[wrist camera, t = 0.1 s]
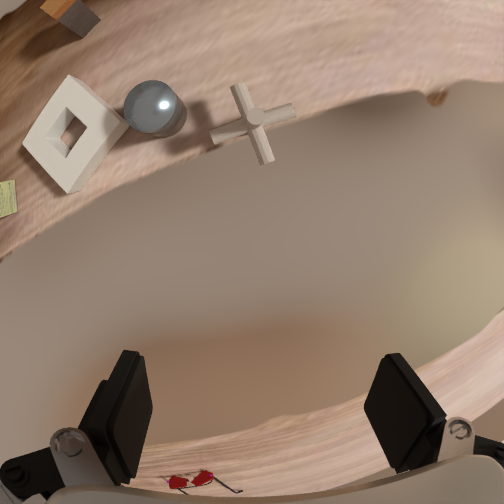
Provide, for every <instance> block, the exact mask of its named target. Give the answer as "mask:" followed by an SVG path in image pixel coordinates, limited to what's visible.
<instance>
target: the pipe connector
mask: <svg viewBox="0 0 504 504" xmlns="http://www.w3.org/2000/svg"><path fill="white" fill-rule="evenodd" d="M230 89H231V91H232V94H233V96H234V99H235V101H236V104H237V106H238V109H239V111H240V114H241V116H242V119H240V120H237V121H234V122H231V123H228V124H226V125H223V126H220V127H218V128H215V129H213V130H210V131H209V132H210V135H211V138H212V140H213V143H214V145H216V144H219V143H221V142H224V141H226V140H229V139H232V138H234V137H237V136H240V135H243V134H246V133H247V134H249V137H250V139H251V142H252V145H253V147H254V150H255V152H256V155H257V158H258V161H259V163H260V165H263V164H265V163H268V162H271V161H274V160H275V159H274V156H273V153H272V151H271V148H270V145H269V143H268V140H267V137H266V135H265V132H264V129H263V127H266V126H269V125H272V124H275V123H278V122H281V121H285V120H288V119H291V118H294V117H296V111H295V108H294V106H293V105H292V103H289V104H286V105H282V106H279V107H276V108H273V109H269V110H266V111H263V110H262V109H260V108H257V107H254V104H253V102H252V99H251V97H250V94H249V92H248V89H247V87H246V84H245V83H244V82H241V83H237V84H235V85H233V86H231V87H230Z"/></svg>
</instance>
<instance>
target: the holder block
mask: <svg viewBox="0 0 504 504" xmlns="http://www.w3.org/2000/svg"><path fill="white" fill-rule="evenodd" d="M75 116H76V117H77V118H78V119H80V120H81V121H82V122H83V123H84V124H85V125H86V126H87V127H88V128H87V129H86V130H85V132H84V133H83V134H82V136H81V137H80V138H79V140H78V141H77V143H76V144H75V145H74V147H73V148H72V150H71V149H70V148H69V147H68V146H67V145H66V144H65V143H64V142H63V141H62V140H61V139H60V137H61V135H62V134H63V132H64V131H65V129H66V128H67V127H68V125H69V124H70V122H71V121H72V120H73V118H74V117H75ZM129 126H130V125H129V124H128V123H127V121H126V120H124V119H123V118H122V117H121V116H120V115H119V114H118V113H117V112H116V111H115V110H113V109H112V108H111V107H110V106H109V105H108V104H107V103H106V102H105V101H104V100H102V99H101V98H100V97H99V96H98V95H97V94H96V93H95V92H94V91H92V90H91V89H90V88H89V87H88V86H87V85H86V84H85V83H84V82H82V81H81V80H79V79H77V78H75V77H73V76H70V75H68V76H67V77H66V79H65V80H64V81H63V83H62V84H61V85H60V87H59V88H58V89H57V91H56V92H55V93H54V95H53V96H52V97H51V99H50V100H49V102H48V103H47V105H46V106H45V108H44V109H43V111H42V112H41V114H40V115H39V117H38V118H37V120H36V121H35V123H34V124H33V126H32V128H31V129H30V131H29V133H28V134H27V136H26V138H25V139H24V141H23V143H22V144H23V145H24V146H25V147H26V149H27V150H28V151H29V152H30V153H31V154H32V156H33V157H34V158H35V159H36V160H37V161H38V162H39V164H40V165H41V166H42V167H43V168H44V169H45V170H46V171H47V173H48V174H49V175H50V176H51V177H52V178H53V179H54V180H55V181H56V182H57V183H58V184H59V186H60V187H61V188H62V189H63V190H64V191H65V192H66V193H67V194H69V193H73V192H77V191H81V190H82V188H83V187H84V185H85V184H86V182H87V181H88V180H89V178H90V177H91V175H92V174H93V172H94V171H95V170H96V168H97V167H98V166H99V164H100V163H101V162H102V160H103V159H104V158H105V156H106V155H107V154H108V152H109V151H110V150H111V148H112V147H113V146H114V145H115V143H116V142H117V141H118V140H119V138H120V137H121V136H122V135H123V134H124V132H125V131H126V130H127V129H128V128H129Z"/></svg>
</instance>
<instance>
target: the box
mask: <svg viewBox="0 0 504 504" xmlns="http://www.w3.org/2000/svg"><path fill="white" fill-rule="evenodd" d="M17 212H18V211H17V201H16V189H15V180H10V181H4V182H0V218H2V217H5V216H8V215H10V214H14V213H17Z"/></svg>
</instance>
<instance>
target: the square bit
mask: <svg viewBox="0 0 504 504" xmlns="http://www.w3.org/2000/svg"><path fill="white" fill-rule="evenodd" d="M40 8H41V9H42V10H44V11H45V12H46V13H48V14H49V15H50V16H52V17H53V18H55V19H56V20H58V21H59V22H60V23H62V24H63V25H65V26H66V27H68V28H69V29H70V30H72V31H73V32H75V33H76V34H77V35H79V36H80V37H81V38H84V37H85V36H86V35H87V34H88V33H89V32H90V31H91V29H92V28H93V27H94V26H95V25H96V24H97V23H98V22H99V21H100V20H101V19H99V18H98V17H97V16H96V15H95V14H94V13H93V12H92V11H91V10H90V9H89V8H88V7H87V6H86V5H85V4H84V3H83V2H82V1H81V0H46V1H45V2H44V4H43V5H42V6H41V7H40Z"/></svg>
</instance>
